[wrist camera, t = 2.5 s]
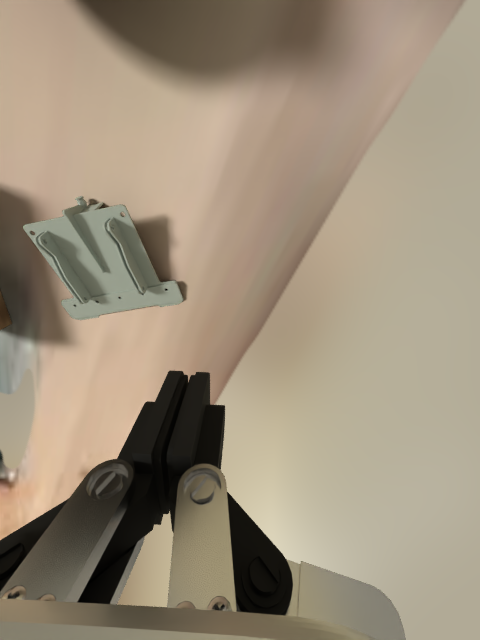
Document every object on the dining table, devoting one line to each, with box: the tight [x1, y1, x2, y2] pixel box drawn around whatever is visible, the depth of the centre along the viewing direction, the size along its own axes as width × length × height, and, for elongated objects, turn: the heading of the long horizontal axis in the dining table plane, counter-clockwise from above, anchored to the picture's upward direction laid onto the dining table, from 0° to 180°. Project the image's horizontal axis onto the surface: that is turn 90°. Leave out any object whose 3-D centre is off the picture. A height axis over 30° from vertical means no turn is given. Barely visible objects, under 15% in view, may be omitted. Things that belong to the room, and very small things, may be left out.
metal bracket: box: [23, 196, 184, 320], centre depth 31 cm, size 14×6×15 cm
